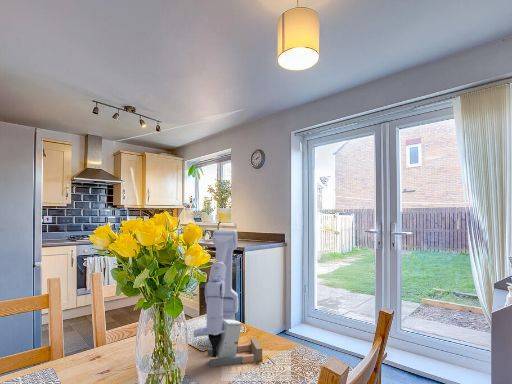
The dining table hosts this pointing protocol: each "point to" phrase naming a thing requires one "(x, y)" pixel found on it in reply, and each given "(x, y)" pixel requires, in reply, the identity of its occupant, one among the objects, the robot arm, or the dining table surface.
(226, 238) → the robot arm
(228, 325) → the skincare box
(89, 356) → the dining table surface
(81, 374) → the dining table surface
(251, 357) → the guide channel
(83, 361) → the dining table surface
